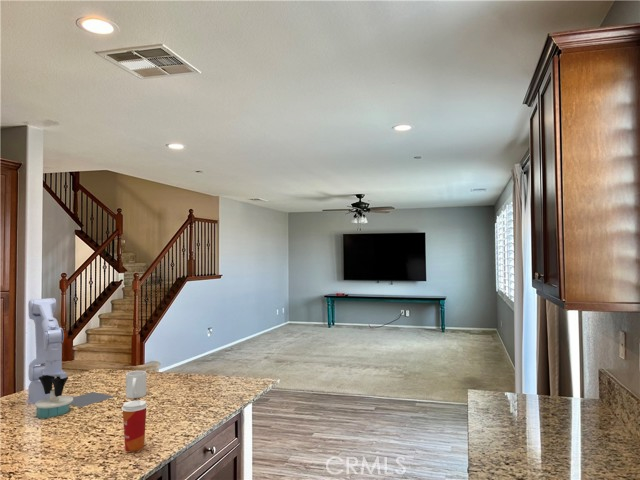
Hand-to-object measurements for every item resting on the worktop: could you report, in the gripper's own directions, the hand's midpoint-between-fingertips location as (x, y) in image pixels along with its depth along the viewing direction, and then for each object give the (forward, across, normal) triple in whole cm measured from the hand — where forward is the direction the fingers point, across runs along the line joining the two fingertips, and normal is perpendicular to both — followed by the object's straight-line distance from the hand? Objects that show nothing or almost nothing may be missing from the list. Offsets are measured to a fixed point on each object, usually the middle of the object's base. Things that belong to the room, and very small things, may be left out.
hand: (53, 394), depth 180 cm
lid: (+3, 0, 0) cm, 3 cm away
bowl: (+7, 0, 0) cm, 7 cm away
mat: (+7, -4, +17) cm, 19 cm away
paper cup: (+8, +57, -7) cm, 58 cm away
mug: (+8, +12, +29) cm, 32 cm away
